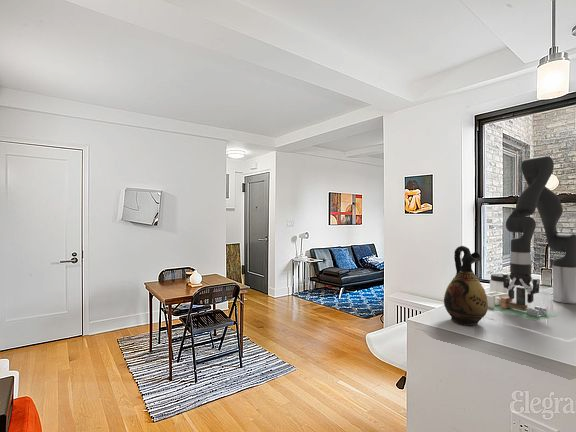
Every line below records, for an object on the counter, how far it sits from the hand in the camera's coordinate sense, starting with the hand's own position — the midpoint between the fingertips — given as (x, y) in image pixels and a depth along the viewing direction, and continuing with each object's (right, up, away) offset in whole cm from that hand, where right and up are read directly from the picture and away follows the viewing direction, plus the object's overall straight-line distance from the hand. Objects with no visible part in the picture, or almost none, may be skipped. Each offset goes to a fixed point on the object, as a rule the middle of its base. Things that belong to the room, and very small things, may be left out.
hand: (520, 300), depth 141 cm
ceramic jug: (-31, -6, -12) cm, 34 cm away
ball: (-4, -3, +9) cm, 11 cm away
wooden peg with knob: (-1, -4, +2) cm, 5 cm away
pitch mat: (-1, -5, +2) cm, 6 cm away
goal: (-5, -5, +10) cm, 12 cm away
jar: (+6, -5, +23) cm, 24 cm away
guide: (+3, -5, -6) cm, 8 cm away
